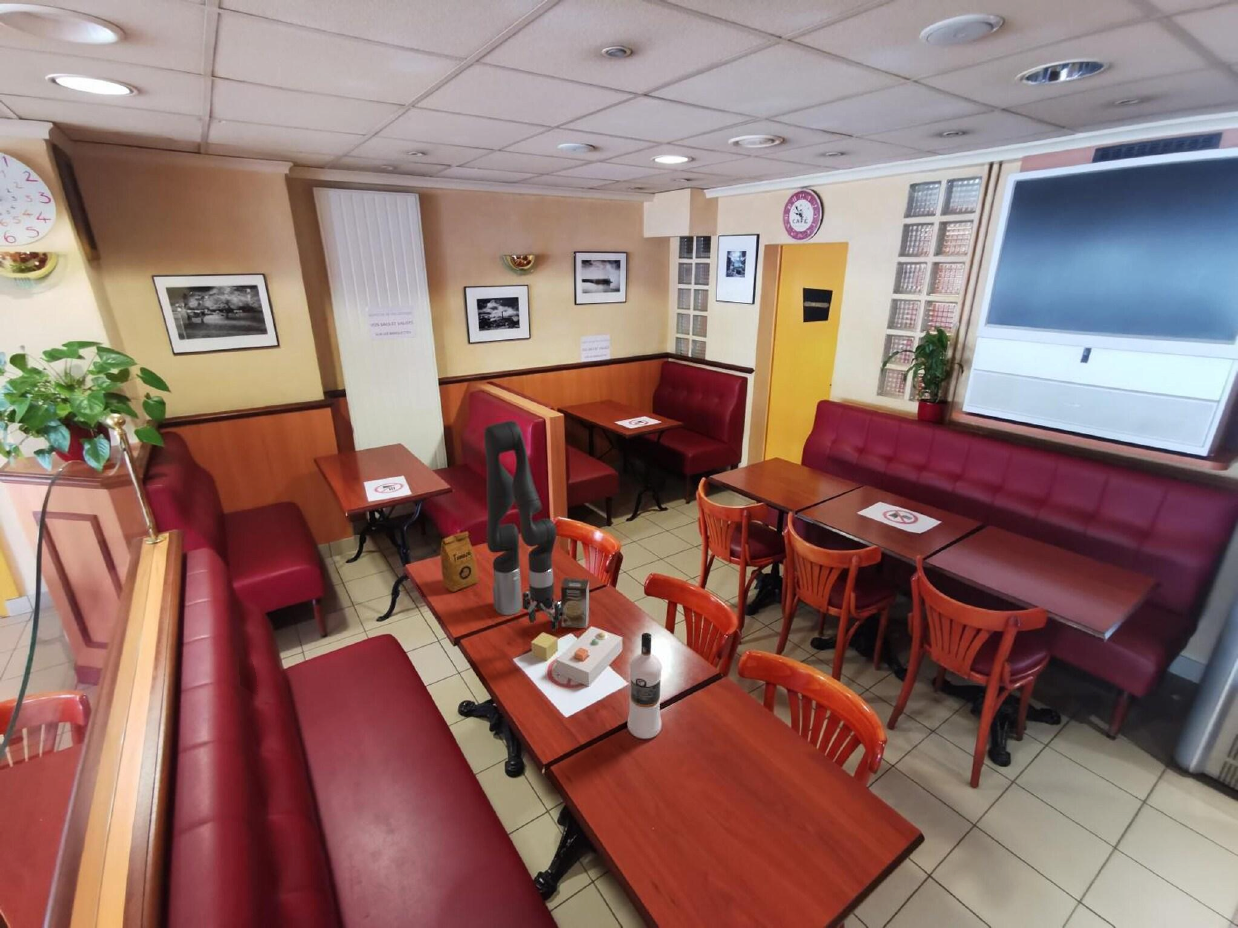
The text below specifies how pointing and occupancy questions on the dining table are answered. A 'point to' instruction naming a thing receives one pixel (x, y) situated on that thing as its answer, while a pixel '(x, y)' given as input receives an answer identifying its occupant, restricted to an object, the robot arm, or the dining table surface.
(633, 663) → the vodka
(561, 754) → the dining table surface
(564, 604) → the coffee box
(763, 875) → the dining table surface
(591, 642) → the panel
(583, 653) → the button
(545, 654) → the cap
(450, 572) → the coffee package
